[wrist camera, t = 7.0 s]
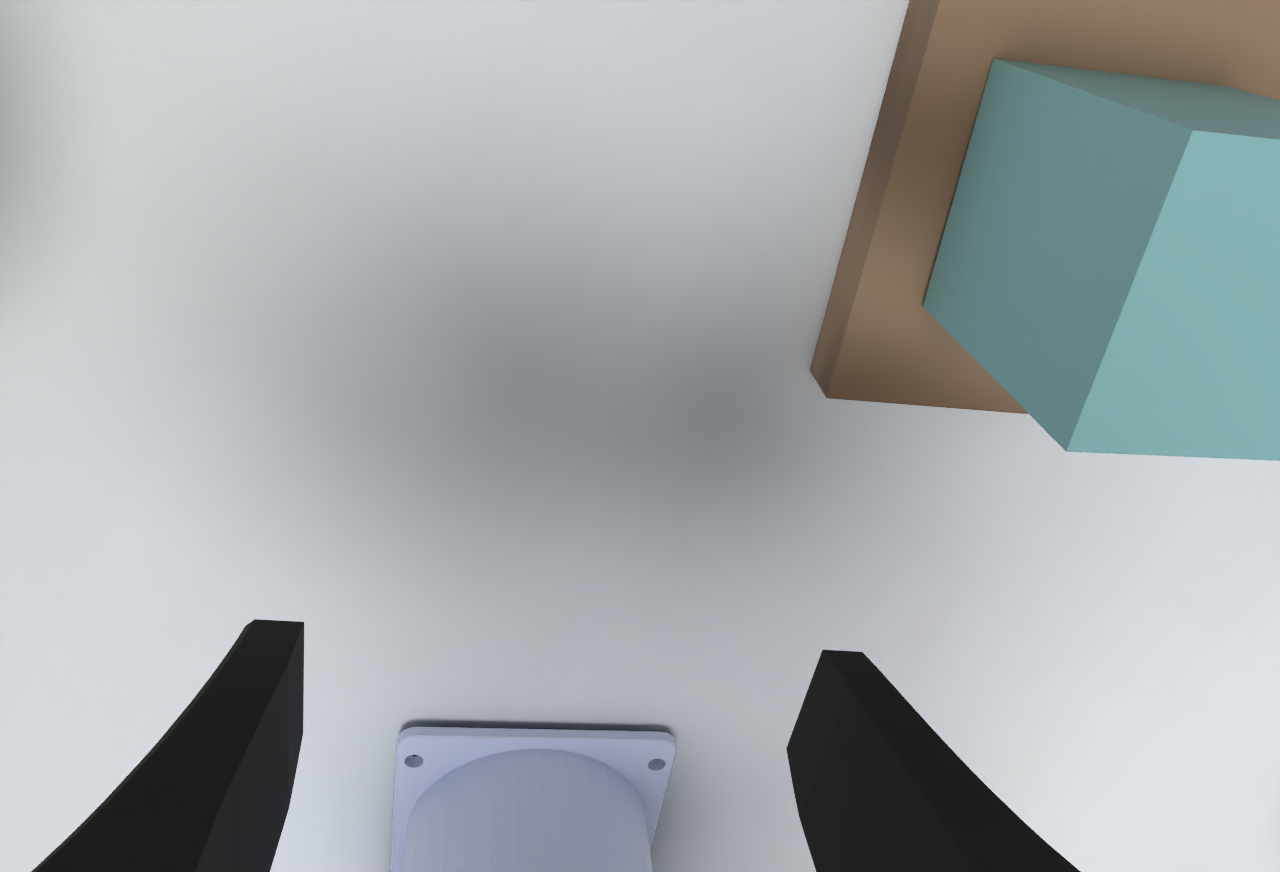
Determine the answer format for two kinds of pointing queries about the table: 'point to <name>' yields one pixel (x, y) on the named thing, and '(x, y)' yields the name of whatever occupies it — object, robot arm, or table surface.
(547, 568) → the table surface
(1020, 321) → the teal block
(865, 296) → the walnut slab
